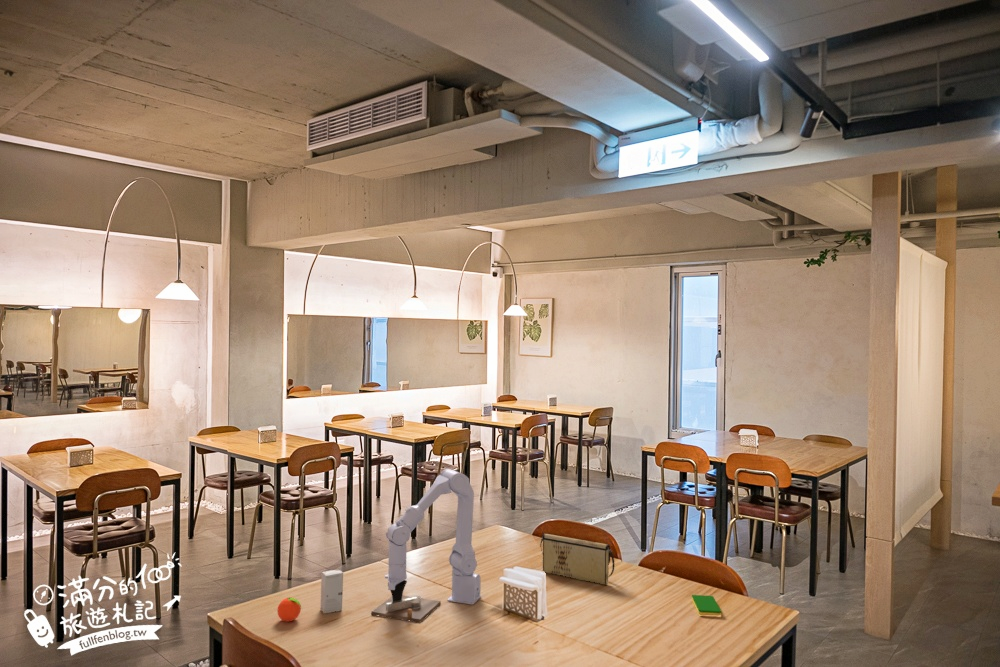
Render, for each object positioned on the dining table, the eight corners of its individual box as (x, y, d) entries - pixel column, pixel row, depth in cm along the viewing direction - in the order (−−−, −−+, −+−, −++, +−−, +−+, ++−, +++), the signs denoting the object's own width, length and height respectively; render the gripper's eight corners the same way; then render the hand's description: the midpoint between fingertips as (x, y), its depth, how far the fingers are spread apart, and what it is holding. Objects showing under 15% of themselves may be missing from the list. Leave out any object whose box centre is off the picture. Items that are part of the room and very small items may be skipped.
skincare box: (324, 614, 212) (325, 575, 212) (319, 609, 215) (320, 571, 216) (343, 610, 215) (343, 572, 215) (338, 605, 219) (339, 568, 219)
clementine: (308, 618, 208) (308, 595, 208) (294, 627, 202) (294, 603, 202) (286, 614, 211) (287, 592, 211) (272, 623, 204) (272, 600, 204)
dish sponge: (712, 602, 228) (712, 595, 228) (721, 619, 214) (721, 611, 214) (691, 601, 229) (691, 594, 229) (698, 617, 215) (699, 610, 215)
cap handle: (417, 602, 219) (417, 594, 219) (422, 605, 216) (422, 598, 216) (384, 609, 213) (384, 601, 213) (389, 613, 210) (389, 605, 210)
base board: (440, 604, 222) (440, 594, 222) (419, 622, 206) (419, 612, 206) (394, 597, 227) (394, 587, 227) (371, 615, 212) (371, 604, 212)
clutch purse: (617, 582, 246) (617, 541, 246) (610, 587, 240) (610, 546, 240) (545, 567, 261) (545, 529, 261) (536, 572, 255) (537, 533, 255)
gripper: (391, 554, 223) (390, 595, 223) (379, 569, 209) (378, 612, 208) (412, 555, 222) (411, 596, 222) (401, 570, 208) (400, 613, 208)
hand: (397, 604), depth 215 cm, fingers closed, pressing on cap handle
